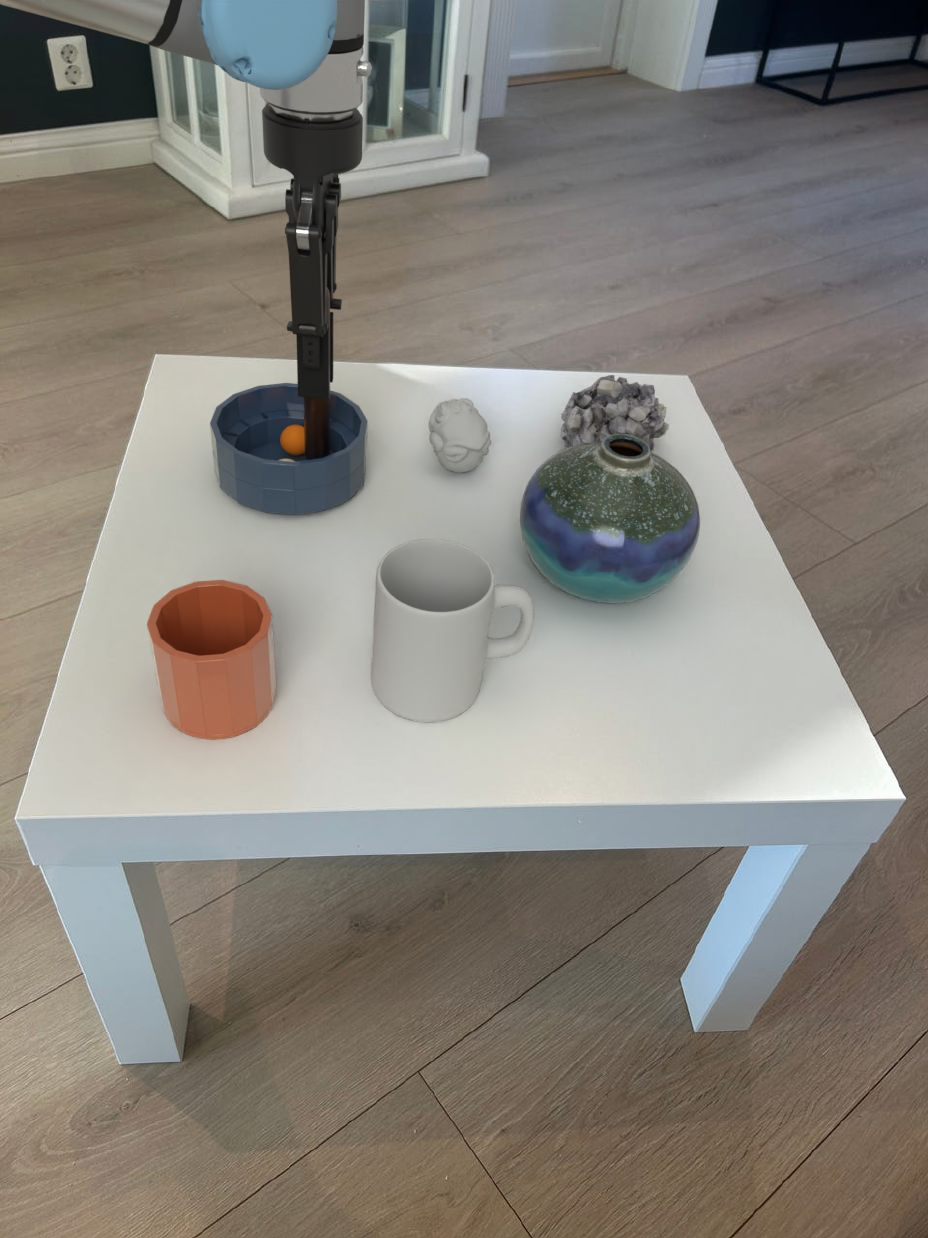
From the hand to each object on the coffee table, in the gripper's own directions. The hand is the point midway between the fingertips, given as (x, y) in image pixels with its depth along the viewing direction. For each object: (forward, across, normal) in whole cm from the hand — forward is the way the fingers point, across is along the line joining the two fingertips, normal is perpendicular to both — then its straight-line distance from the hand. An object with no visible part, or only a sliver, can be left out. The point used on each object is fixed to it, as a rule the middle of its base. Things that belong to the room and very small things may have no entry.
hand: (315, 386), depth 88 cm
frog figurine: (+10, +3, -14) cm, 17 cm away
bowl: (+9, -1, +2) cm, 10 cm away
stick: (+8, 0, 0) cm, 8 cm away
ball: (+7, +2, +2) cm, 8 cm away
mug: (+10, -27, -14) cm, 31 cm away
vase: (+10, -12, -27) cm, 31 cm away
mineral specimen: (+10, +10, -30) cm, 33 cm away
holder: (+9, -30, +3) cm, 32 cm away
